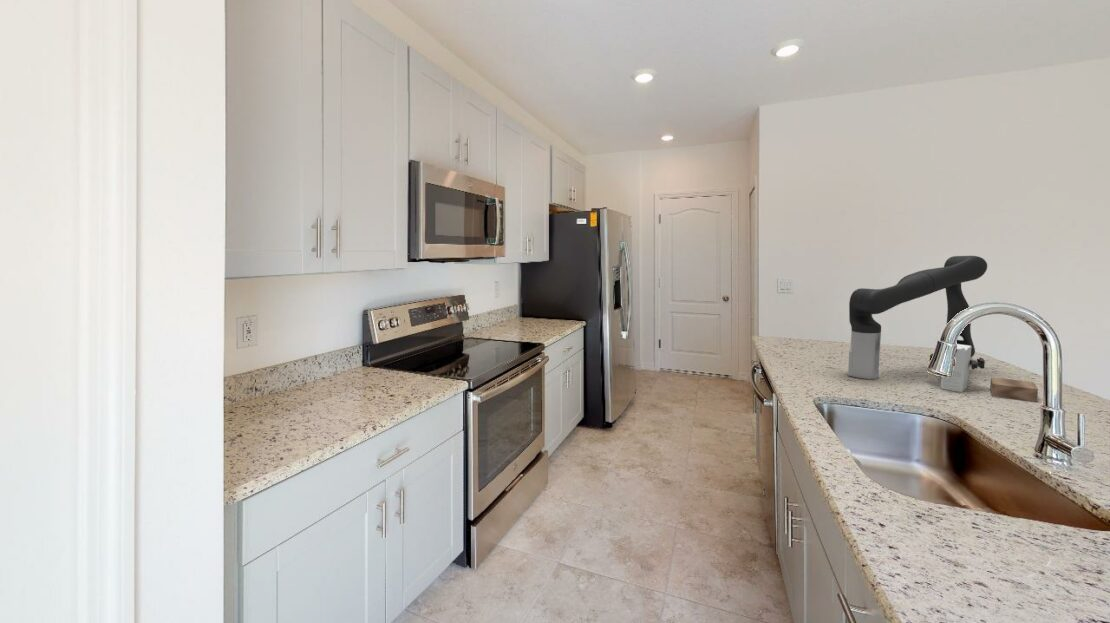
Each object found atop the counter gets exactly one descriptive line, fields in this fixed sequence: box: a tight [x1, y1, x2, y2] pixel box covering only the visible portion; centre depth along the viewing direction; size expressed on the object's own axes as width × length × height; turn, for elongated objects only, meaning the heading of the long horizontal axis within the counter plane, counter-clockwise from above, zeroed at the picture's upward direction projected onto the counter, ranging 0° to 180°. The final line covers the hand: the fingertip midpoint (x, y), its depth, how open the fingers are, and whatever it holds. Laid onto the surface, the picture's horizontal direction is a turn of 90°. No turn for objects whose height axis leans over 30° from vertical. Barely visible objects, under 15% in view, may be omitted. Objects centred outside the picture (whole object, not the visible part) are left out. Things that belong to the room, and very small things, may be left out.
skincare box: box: [940, 344, 972, 393], centre depth 154 cm, size 8×6×15 cm
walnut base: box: [989, 377, 1039, 403], centre depth 146 cm, size 10×10×4 cm
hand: (956, 364), depth 153 cm, fingers open, 8 cm apart
